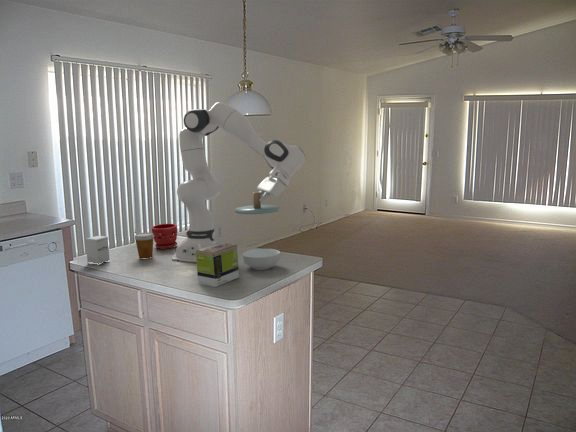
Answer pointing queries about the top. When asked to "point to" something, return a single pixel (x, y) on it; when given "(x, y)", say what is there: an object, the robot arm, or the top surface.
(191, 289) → the top surface
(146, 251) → the glass of beer
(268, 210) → the cover
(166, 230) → the plant pot
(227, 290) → the top surface
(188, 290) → the top surface
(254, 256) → the cereal bowl
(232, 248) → the tea box
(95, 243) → the supplement box
